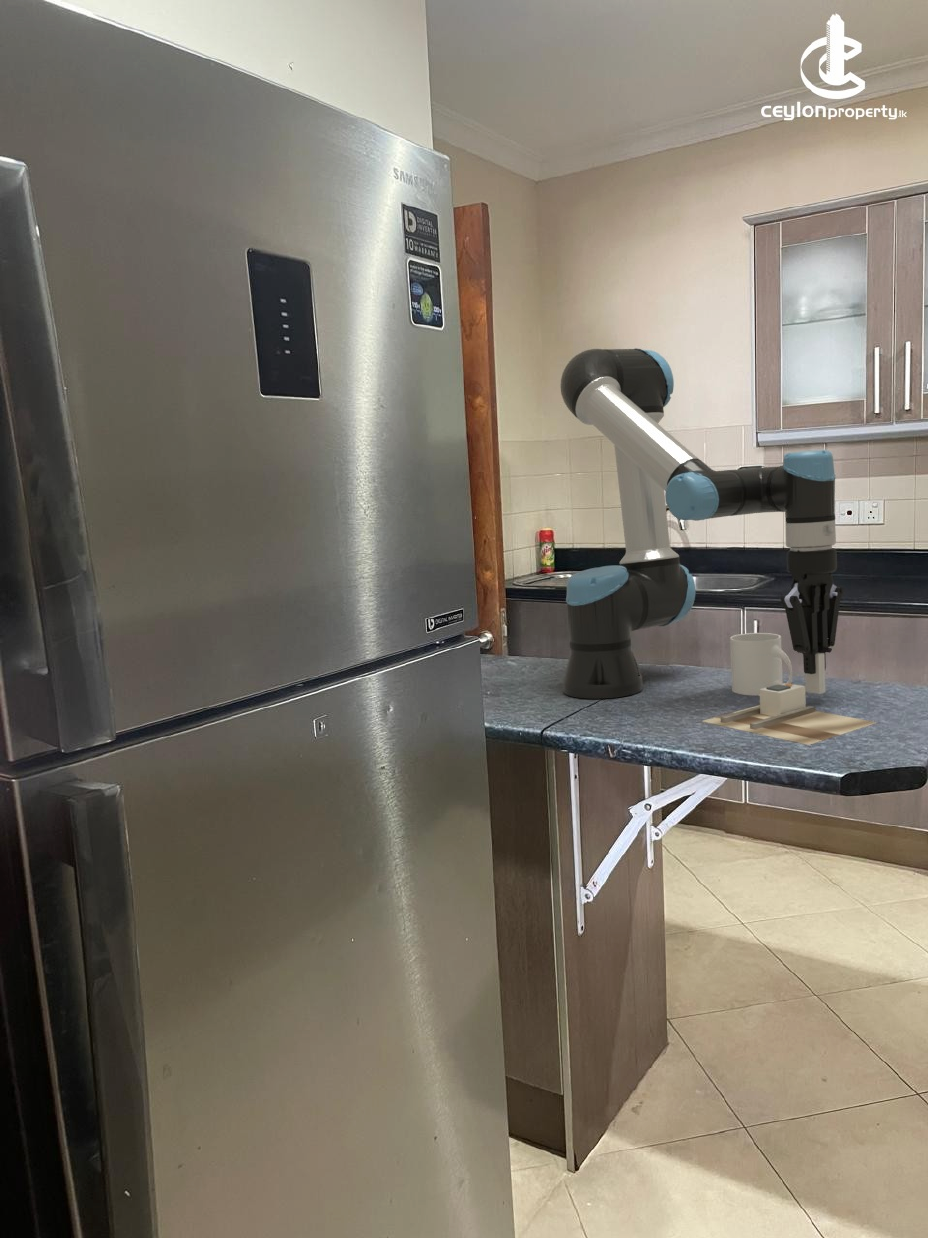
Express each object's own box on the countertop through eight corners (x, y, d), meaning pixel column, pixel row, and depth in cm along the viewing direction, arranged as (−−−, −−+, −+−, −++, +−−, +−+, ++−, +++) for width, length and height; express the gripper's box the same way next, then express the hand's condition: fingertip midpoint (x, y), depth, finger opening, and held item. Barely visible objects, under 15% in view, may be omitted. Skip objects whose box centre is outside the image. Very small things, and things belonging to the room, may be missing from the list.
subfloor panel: (701, 728, 148) (701, 716, 148) (769, 709, 156) (769, 697, 156) (808, 753, 131) (808, 739, 131) (878, 730, 139) (877, 717, 139)
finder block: (760, 713, 149) (759, 687, 148) (785, 706, 152) (784, 681, 152) (780, 718, 146) (779, 691, 145) (805, 710, 149) (805, 684, 148)
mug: (775, 707, 157) (772, 645, 156) (721, 697, 167) (719, 638, 166) (809, 698, 161) (807, 637, 160) (755, 688, 172) (753, 631, 170)
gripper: (804, 552, 143) (809, 702, 146) (857, 544, 150) (860, 688, 153) (764, 552, 149) (770, 696, 153) (817, 544, 156) (821, 682, 159)
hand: (815, 692), depth 153 cm, fingers closed
